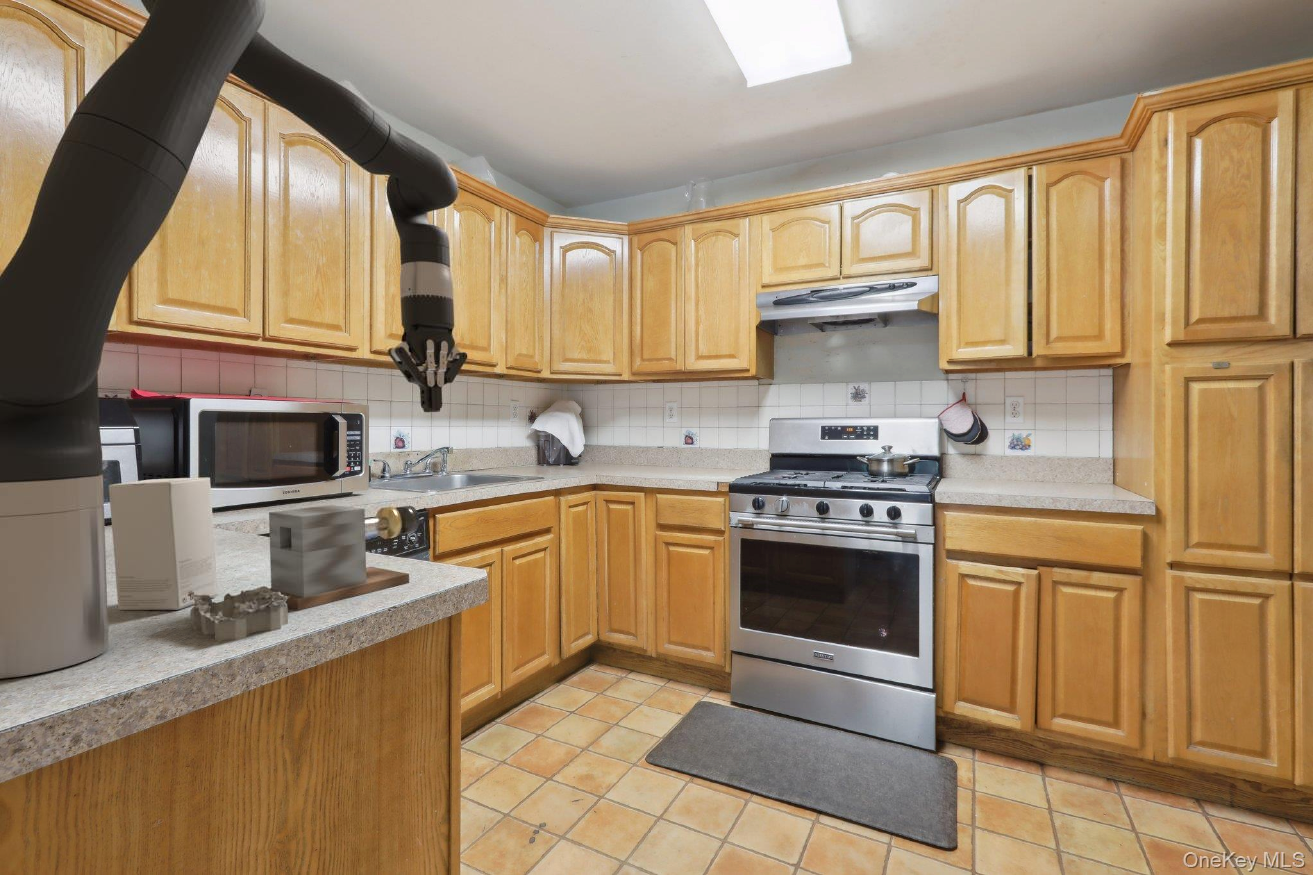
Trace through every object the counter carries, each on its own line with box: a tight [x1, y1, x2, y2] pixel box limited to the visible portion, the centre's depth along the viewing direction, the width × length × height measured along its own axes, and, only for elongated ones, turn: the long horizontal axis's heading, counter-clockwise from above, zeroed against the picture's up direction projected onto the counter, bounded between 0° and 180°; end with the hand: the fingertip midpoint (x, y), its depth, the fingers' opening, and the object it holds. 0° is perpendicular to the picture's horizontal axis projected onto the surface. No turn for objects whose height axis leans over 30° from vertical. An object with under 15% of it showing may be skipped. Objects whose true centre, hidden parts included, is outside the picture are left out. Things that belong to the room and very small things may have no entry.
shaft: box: [365, 505, 420, 540], centre depth 86 cm, size 14×4×4 cm, turn 147°
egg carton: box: [188, 585, 291, 641], centre depth 68 cm, size 11×8×4 cm
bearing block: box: [268, 504, 410, 611], centre depth 82 cm, size 15×9×11 cm, turn 147°
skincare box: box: [108, 477, 219, 611], centre depth 77 cm, size 8×7×16 cm
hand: (432, 411), depth 94 cm, fingers closed
